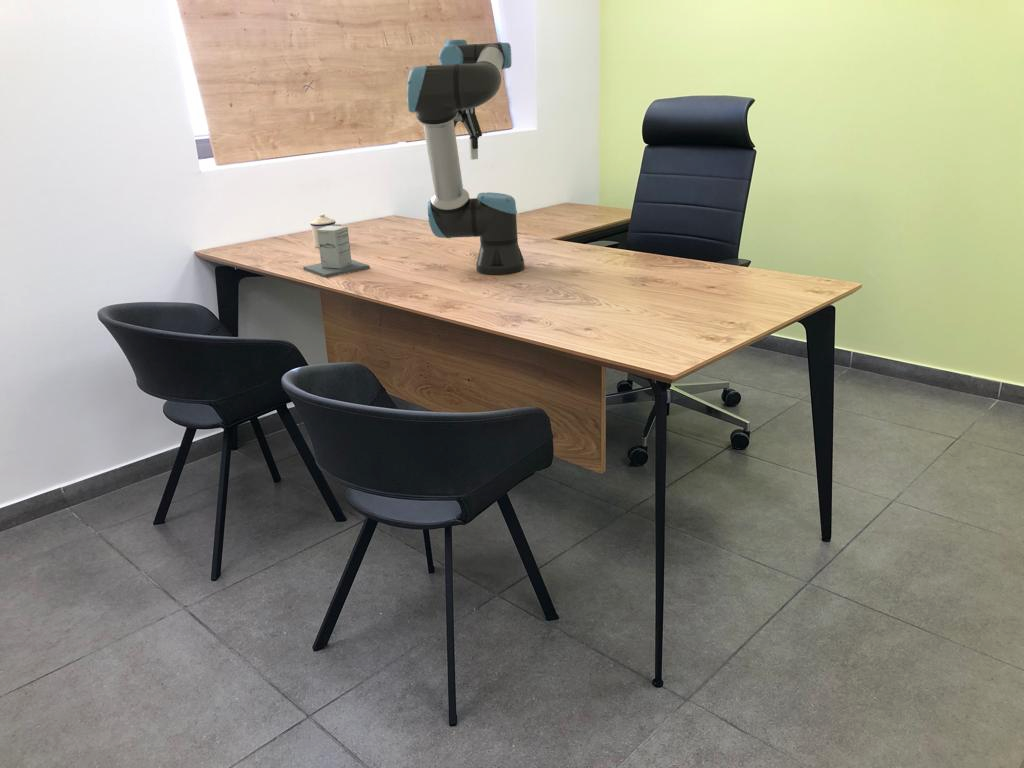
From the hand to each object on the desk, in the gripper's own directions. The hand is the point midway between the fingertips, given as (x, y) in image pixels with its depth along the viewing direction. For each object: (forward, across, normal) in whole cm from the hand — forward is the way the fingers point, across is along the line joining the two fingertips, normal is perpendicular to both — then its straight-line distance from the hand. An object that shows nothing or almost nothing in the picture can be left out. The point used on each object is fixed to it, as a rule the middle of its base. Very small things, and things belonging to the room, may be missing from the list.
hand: (462, 158), depth 271 cm
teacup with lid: (+32, +50, +27) cm, 65 cm away
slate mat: (+32, +13, +44) cm, 56 cm away
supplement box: (+31, +12, +44) cm, 55 cm away
